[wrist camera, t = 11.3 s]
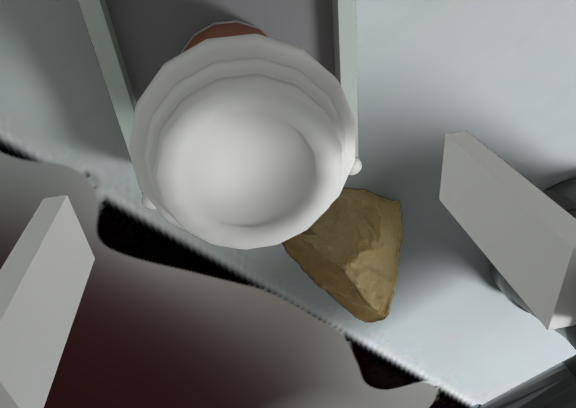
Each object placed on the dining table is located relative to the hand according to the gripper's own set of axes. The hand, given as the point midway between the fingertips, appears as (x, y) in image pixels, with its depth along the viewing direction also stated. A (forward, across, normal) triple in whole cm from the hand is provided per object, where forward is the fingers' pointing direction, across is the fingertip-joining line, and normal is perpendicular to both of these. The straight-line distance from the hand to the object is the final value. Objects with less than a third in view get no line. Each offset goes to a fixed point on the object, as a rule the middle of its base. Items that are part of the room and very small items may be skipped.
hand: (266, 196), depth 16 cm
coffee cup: (+13, +1, 0) cm, 13 cm away
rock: (+17, -6, +12) cm, 22 cm away
